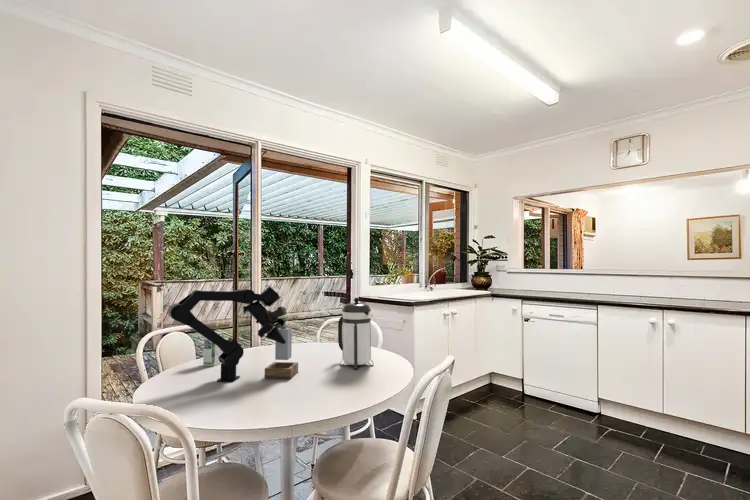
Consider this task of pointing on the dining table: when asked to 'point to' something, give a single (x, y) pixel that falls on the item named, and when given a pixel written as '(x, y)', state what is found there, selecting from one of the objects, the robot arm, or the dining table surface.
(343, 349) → the coffee press
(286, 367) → the socket
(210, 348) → the syrup box
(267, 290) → the robot arm
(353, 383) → the dining table surface
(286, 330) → the plug
